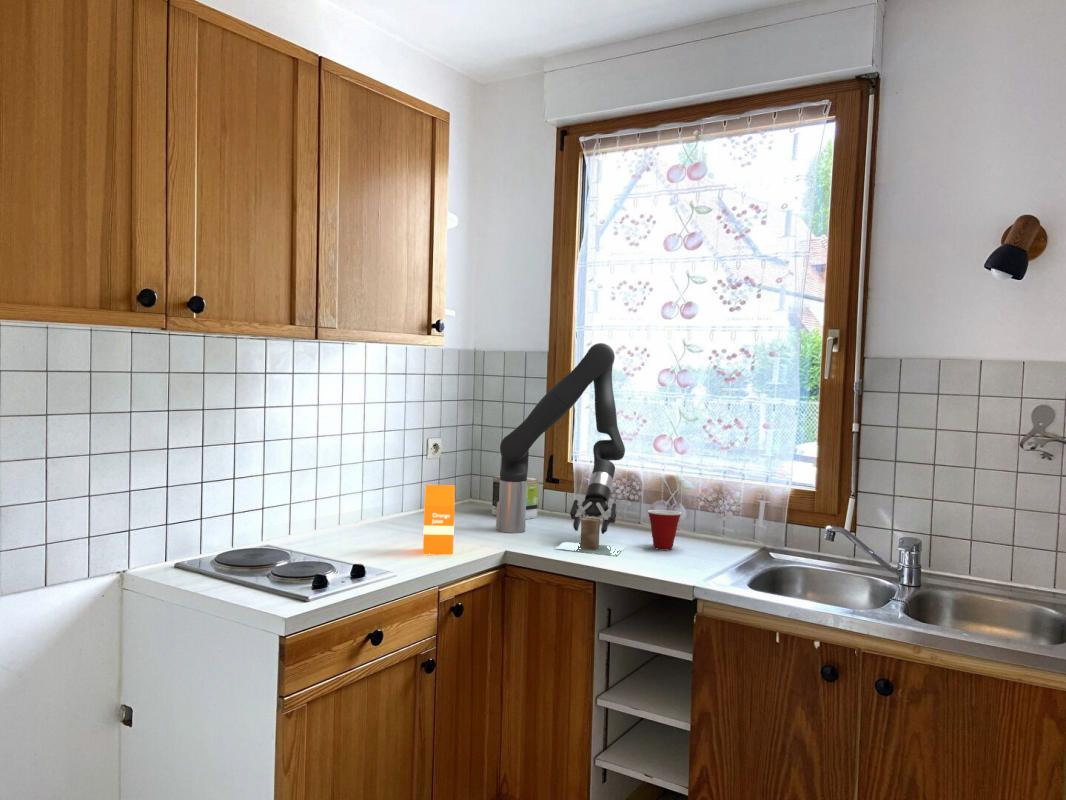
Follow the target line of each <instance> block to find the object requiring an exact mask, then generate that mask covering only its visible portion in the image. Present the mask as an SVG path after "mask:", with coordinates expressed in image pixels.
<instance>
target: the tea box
mask: <svg viewBox="0 0 1066 800" xmlns="http://www.w3.org/2000/svg"><path fill="white" fill-rule="evenodd" d="M492 477H493V479H492V500H491V502H492V503H491V506H492V507H491V514H492V515H494V516H497V502H499V491H500V475H495V476H492ZM538 499H539V478H533V477H528V476H527V492H526V519H525V520H530V518H531V519H536V517H538V505H539V504H538V503H539V502H538V501H539V500H538Z"/></svg>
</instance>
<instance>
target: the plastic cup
mask: <svg viewBox="0 0 1066 800" xmlns="http://www.w3.org/2000/svg"><path fill="white" fill-rule="evenodd" d="M646 512H647V513H648V516H649V520H650V521H649V522H650V528H651V529H650V530H651V537H652V542H653V544H652V545H653V548H654V547H655V548H654V549H656V548H658V549H657V550H659V549H671V550H672V549H673V547H674V542H675V538H676V534H677V529H678V526H679V525H678V524H679V522H680V518H681V515H682V513H683V512H681V511H677V510H667V509H666V510H665V509H649V510H647V511H646Z"/></svg>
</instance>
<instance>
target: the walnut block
mask: <svg viewBox="0 0 1066 800" xmlns="http://www.w3.org/2000/svg"><path fill="white" fill-rule="evenodd" d="M600 523H601V519H600V518H595V517H594V518H593V517H585V518H582V519H581V520H580V542H579V543H580V548H581V549H590V550H597V549H598V548H599V545H600V531H601V526H600V525H601V524H600Z"/></svg>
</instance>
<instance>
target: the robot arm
mask: <svg viewBox="0 0 1066 800" xmlns="http://www.w3.org/2000/svg"><path fill="white" fill-rule="evenodd" d="M615 358H616V357H615V352H614V350H613V348H612V347H611V345H609V344H606V343H603V342H602V343H601V342H599V343H598V342H597V343H595V344H593V345H592V346H591V347H590V348H589V349H588V350H587V352H586V353H585V355H584V356H583V358H582V359H581V360H580V362H578V364H577V365H576V366H575V367H574V368H573V369H572V370H571V371H570V372H569V373H567V375H565V376H564V377H562V379H561V380H559V381H558V382H557V383H556V384H555V385H553V386H552V387H551V389H550V390H549V391H547V393H546V394H545V395H544V396H543V397H542V398H541V399H540V400H539V401H538V403H537V404H536V405H535V406H534V408H533V409H532V410H531V412H530V413H529V414H528V415H527V416H526V418H525V419H524V421H522V422H521V423H520V424H519V425H518V426H517V427H516V428H514V430H512V431H511V432H510V433H509V434H507V435H506V436H504V437H503V439H501V442H500V445H499V450H500V454H501V466H500V472H499V476H500V491H499V502H497V515H496V518H495V519H496V521H495V523H496V524H495V531H498V532H503V533H510V534H512V533H513V534H515V533H517V534H518V533H523V532H525V531H526V520H527V519H526V492H527V477H528V473H529V472H528V471H529V455H530V453H529V451H530V448H531V447H532V445H533V444H534V443H536V441H537V440H538V439H539V438H540V436H541V435H542V434H543V433H545V432H547V430H550V428H551V427H553V426H554V425H555V424H557V422H558V421H559V420H560V419H562V418H563V417H564V416H565V414H567V412H569V411H570V410H571V408H572V407H573V406H574V405H575V404H576V402H577V401H579V399H580V398H581V396H582V395H583V394H584V392H585V391H586V389H587V388H588V387H589V386H590V384H591V383H593V386H594V387H593V389H594V414H595V425H596V431H597V433H601V434H606V435H608V436H609V438H610V439H599V440H597V441H596V442H595V443H594V445H593V448H592V451H593V469H592V472H591V473H592V474H591V476H590V479H589V481H588V485H587V489H586V493H585V497H584V500H583V501H578V499H574V500H573V503H572V506H571V509H570V512H569V515H570V518H571V520H574V521H573V523H572V527H573V529H574V531H575V532H578V531H579V527H580V525H581V520H582V519H583V518H587V517H594V518H595V517H596V518H599V517H600V518H601V519H602V523H601V527H600V532H601V534H603V535H604V534H605V533H606V532H608V527H609V524H615V523H616V518H617V511H618V507H617V503H614V502H613V503H612V504H609V501H610V496H611V492H612V488H613V482H614V481H613V480H614V476H615V472H616V466H615V464H614V463H613V462H612V461H621V460H622V459H623V458H624V456H625V453H626V448H625V444H624V442H623V439H622V437H621V434H620V431H619V427H618V420H617V419H618V418H617V408H616V401H615V395H614V390H613V389H614V388H613V367H614V362H615ZM581 507H582V508H581ZM578 510H579V511H578ZM608 510H610V516H609V517H608V515H607V513H606V512H607V511H608Z"/></svg>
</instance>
